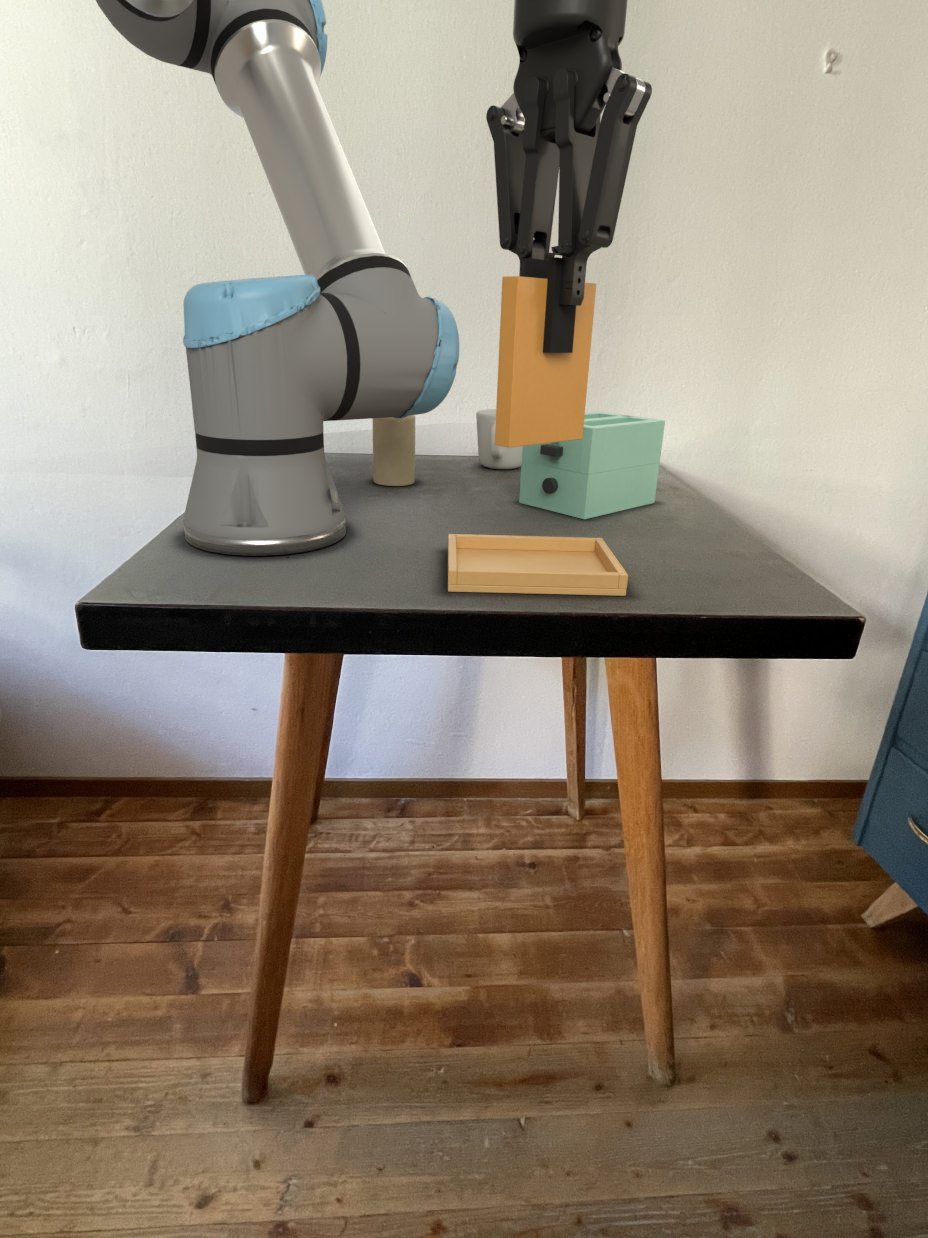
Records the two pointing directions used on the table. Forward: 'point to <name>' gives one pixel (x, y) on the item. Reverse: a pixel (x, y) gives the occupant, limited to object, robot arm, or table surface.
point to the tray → (533, 565)
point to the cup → (488, 450)
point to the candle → (394, 451)
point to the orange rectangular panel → (539, 368)
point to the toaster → (595, 467)
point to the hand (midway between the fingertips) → (546, 351)
